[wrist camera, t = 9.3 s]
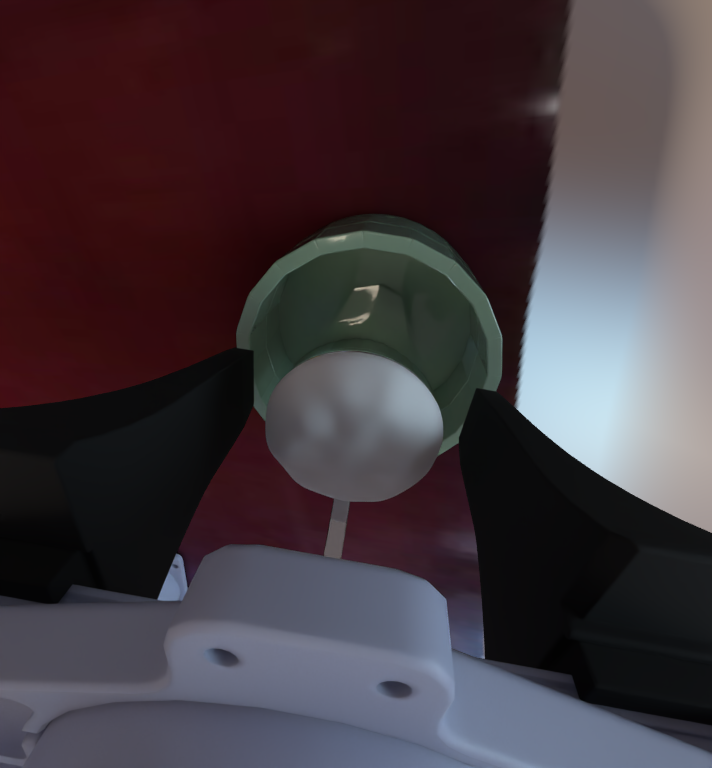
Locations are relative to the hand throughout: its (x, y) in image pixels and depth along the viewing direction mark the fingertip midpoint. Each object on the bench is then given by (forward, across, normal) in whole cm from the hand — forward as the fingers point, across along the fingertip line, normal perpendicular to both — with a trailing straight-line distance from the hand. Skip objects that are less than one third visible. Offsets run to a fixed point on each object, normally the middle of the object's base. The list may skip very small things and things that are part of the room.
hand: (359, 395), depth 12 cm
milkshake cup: (+6, 0, 0) cm, 6 cm away
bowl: (+6, 0, 0) cm, 6 cm away
